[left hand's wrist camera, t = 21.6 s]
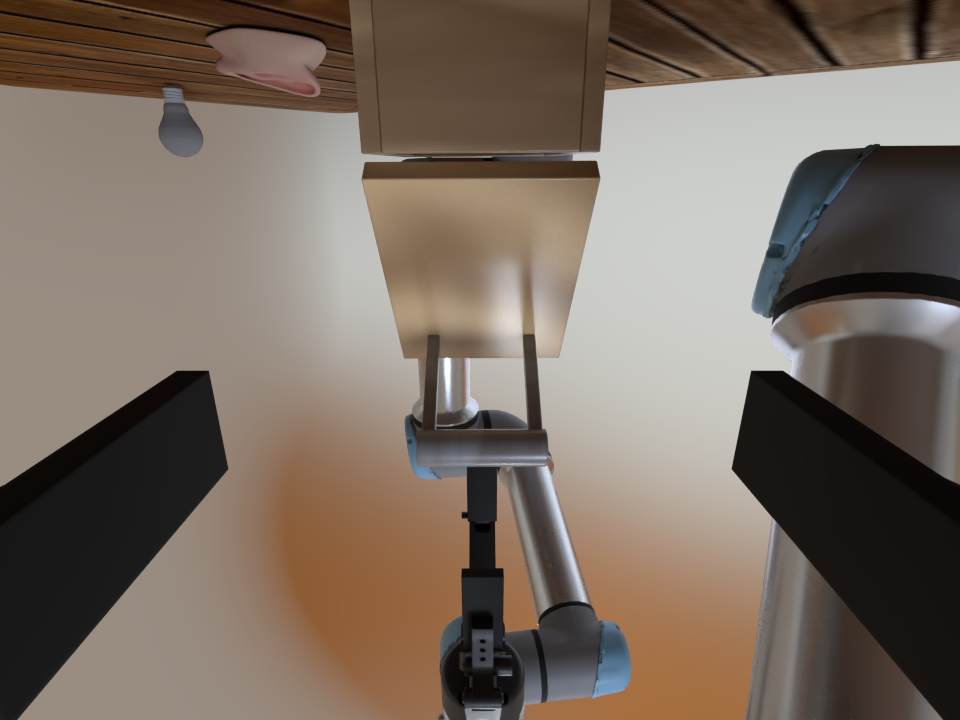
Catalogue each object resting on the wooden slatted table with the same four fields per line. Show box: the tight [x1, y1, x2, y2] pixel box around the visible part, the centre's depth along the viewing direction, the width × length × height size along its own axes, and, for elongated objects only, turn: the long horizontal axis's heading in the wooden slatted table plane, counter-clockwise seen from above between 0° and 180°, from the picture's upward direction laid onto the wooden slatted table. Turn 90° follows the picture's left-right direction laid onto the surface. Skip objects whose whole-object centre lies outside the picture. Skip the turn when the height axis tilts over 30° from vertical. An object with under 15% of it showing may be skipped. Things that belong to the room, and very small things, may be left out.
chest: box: [349, 0, 611, 157], centre depth 25 cm, size 13×10×11 cm
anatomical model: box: [206, 28, 326, 97], centre depth 52 cm, size 13×4×12 cm
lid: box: [362, 161, 600, 467], centre depth 25 cm, size 14×10×9 cm
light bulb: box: [159, 85, 203, 157], centre depth 79 cm, size 6×6×10 cm
